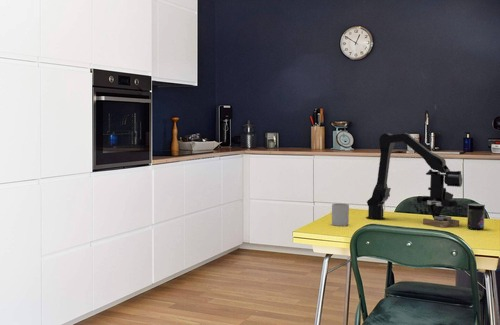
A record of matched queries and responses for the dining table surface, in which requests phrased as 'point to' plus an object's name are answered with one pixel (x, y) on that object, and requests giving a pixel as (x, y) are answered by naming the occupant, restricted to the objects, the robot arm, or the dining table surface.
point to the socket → (442, 218)
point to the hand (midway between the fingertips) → (435, 220)
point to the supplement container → (475, 216)
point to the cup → (340, 214)
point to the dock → (441, 223)
